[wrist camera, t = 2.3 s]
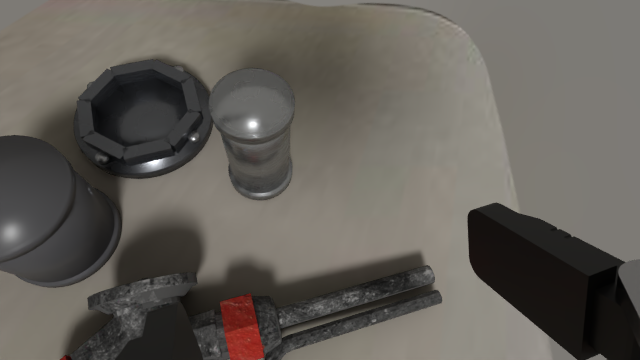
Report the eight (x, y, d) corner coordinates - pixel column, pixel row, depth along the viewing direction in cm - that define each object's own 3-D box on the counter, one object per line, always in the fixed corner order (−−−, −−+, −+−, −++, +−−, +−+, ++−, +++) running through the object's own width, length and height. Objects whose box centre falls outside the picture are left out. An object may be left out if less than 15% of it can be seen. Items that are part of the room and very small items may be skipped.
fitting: (238, 208, 30) (218, 145, 21) (223, 154, 32) (200, 75, 23) (299, 191, 32) (305, 124, 22) (282, 140, 33) (281, 59, 24)
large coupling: (11, 302, 26) (-92, 280, 19) (10, 203, 29) (-80, 151, 22) (127, 268, 28) (73, 236, 21) (115, 178, 31) (64, 122, 24)
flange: (85, 194, 30) (71, 182, 28) (74, 84, 34) (61, 67, 32) (226, 159, 32) (222, 146, 30) (199, 60, 36) (194, 43, 34)
